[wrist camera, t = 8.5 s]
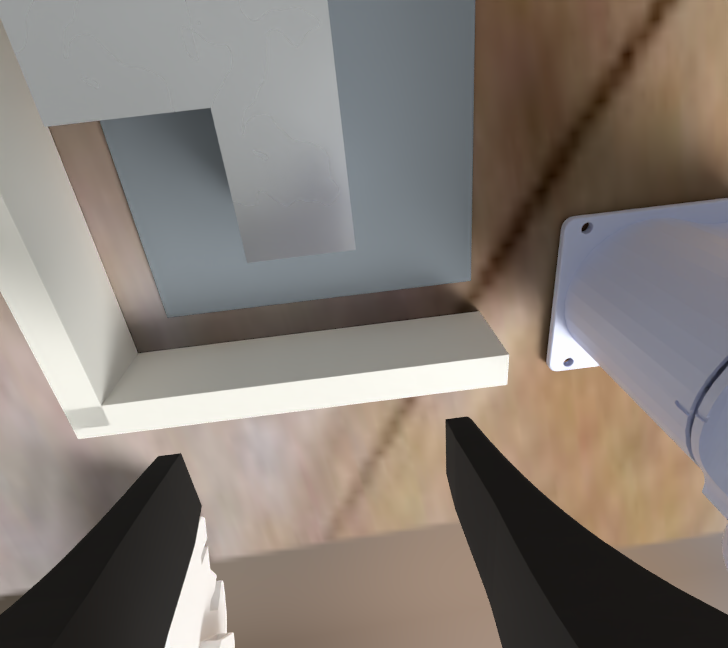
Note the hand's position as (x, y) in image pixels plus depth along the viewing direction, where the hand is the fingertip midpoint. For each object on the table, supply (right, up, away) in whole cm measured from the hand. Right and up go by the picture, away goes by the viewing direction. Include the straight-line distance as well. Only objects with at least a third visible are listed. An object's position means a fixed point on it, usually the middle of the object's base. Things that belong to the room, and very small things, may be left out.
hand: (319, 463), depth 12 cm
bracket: (-4, +12, +5) cm, 13 cm away
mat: (-1, +10, +6) cm, 12 cm away
